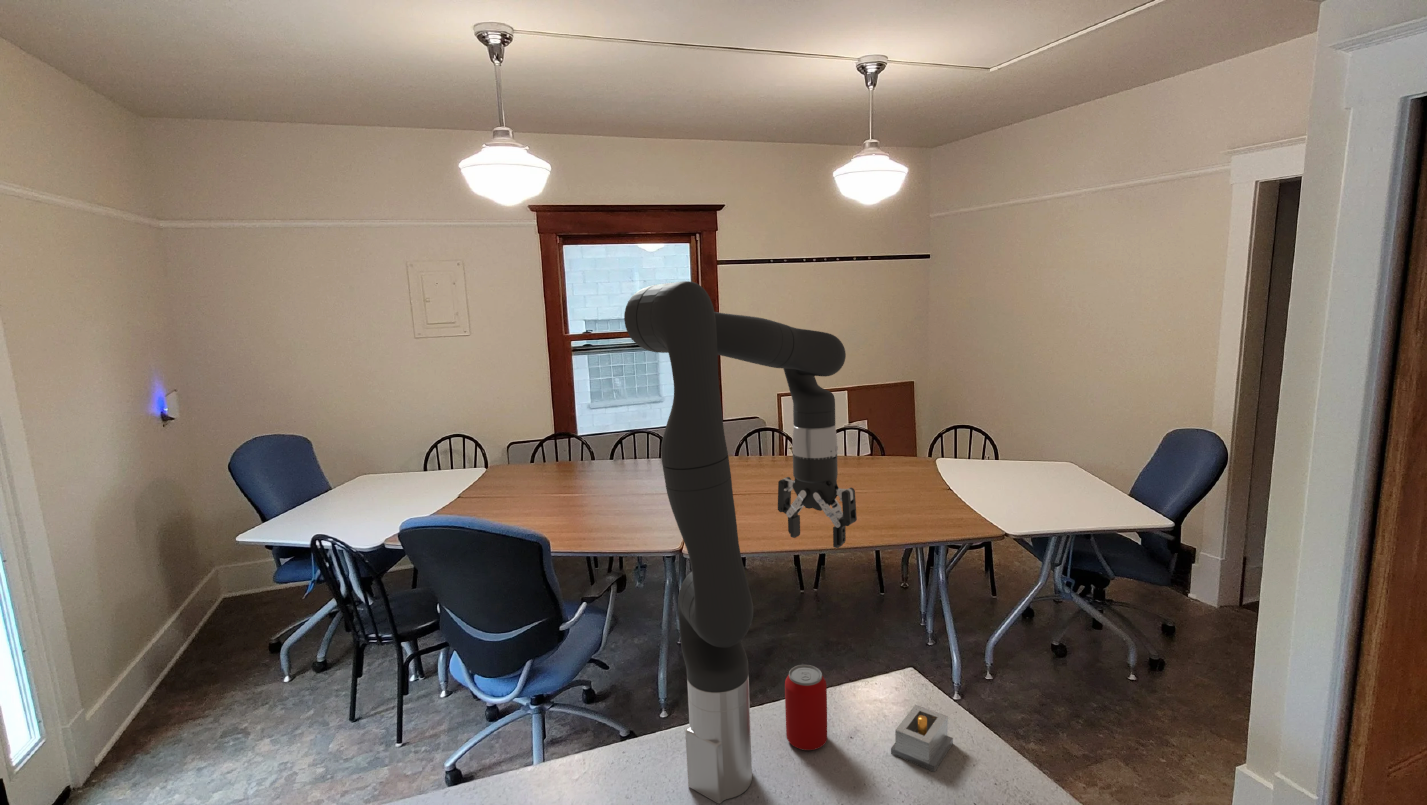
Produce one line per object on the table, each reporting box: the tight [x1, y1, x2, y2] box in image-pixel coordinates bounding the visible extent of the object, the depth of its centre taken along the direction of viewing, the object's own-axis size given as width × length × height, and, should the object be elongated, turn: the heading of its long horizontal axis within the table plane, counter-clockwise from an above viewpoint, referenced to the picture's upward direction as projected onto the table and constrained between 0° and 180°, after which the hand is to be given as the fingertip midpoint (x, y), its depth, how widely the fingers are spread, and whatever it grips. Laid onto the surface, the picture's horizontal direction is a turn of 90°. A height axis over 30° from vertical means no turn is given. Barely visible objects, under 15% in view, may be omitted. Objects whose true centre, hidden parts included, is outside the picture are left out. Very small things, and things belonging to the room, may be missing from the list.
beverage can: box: [784, 664, 828, 751], centre depth 109 cm, size 7×7×12 cm
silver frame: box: [894, 704, 949, 764], centre depth 107 cm, size 8×5×4 cm
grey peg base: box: [890, 715, 954, 773], centre depth 107 cm, size 8×7×5 cm
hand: (816, 541), depth 116 cm, fingers open, 8 cm apart
